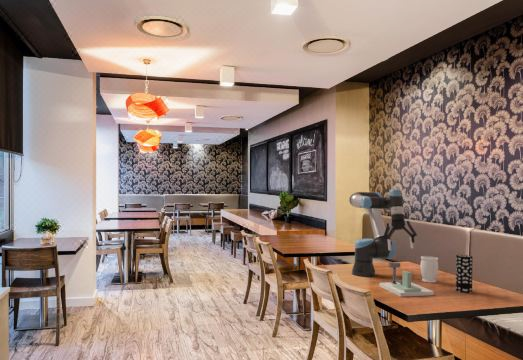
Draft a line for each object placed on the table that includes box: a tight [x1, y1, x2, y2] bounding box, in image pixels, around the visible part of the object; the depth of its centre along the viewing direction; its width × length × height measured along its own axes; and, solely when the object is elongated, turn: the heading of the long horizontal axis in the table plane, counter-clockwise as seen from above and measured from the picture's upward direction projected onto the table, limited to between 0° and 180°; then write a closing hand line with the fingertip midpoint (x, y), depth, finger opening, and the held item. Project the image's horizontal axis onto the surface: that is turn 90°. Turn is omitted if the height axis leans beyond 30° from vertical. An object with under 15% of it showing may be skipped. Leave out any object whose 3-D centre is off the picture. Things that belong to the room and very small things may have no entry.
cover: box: [393, 270, 421, 292], centre depth 229 cm, size 12×10×10 cm
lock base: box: [378, 281, 435, 297], centre depth 233 cm, size 23×20×2 cm
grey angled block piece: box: [388, 262, 402, 284], centre depth 238 cm, size 10×6×12 cm, turn 13°
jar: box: [419, 255, 439, 284], centre depth 258 cm, size 11×10×15 cm
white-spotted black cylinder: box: [455, 254, 474, 294], centre depth 234 cm, size 8×8×20 cm
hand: (400, 249), depth 246 cm, fingers open, 13 cm apart
